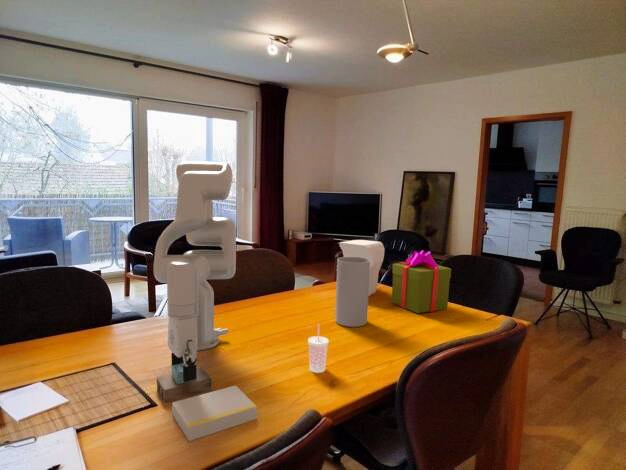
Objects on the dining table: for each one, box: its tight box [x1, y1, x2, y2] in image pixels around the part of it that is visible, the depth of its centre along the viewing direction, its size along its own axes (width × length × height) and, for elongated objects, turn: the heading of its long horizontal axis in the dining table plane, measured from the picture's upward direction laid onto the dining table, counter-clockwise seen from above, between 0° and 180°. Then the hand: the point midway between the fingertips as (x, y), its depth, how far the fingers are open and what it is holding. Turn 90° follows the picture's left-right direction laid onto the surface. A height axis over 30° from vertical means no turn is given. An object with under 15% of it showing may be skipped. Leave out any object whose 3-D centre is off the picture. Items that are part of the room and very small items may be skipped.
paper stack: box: [337, 239, 386, 297], centre depth 209 cm, size 21×27×26 cm
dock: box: [171, 385, 258, 442], centre depth 99 cm, size 16×12×3 cm
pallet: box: [156, 367, 213, 403], centre depth 111 cm, size 12×8×4 cm, turn 124°
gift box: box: [391, 249, 452, 314], centre depth 189 cm, size 21×21×25 cm
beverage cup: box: [307, 322, 330, 374], centre depth 125 cm, size 6×6×14 cm
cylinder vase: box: [334, 256, 370, 328], centre depth 166 cm, size 12×12×25 cm
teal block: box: [170, 363, 198, 384], centre depth 111 cm, size 5×5×3 cm
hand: (183, 373), depth 110 cm, fingers open, 9 cm apart
